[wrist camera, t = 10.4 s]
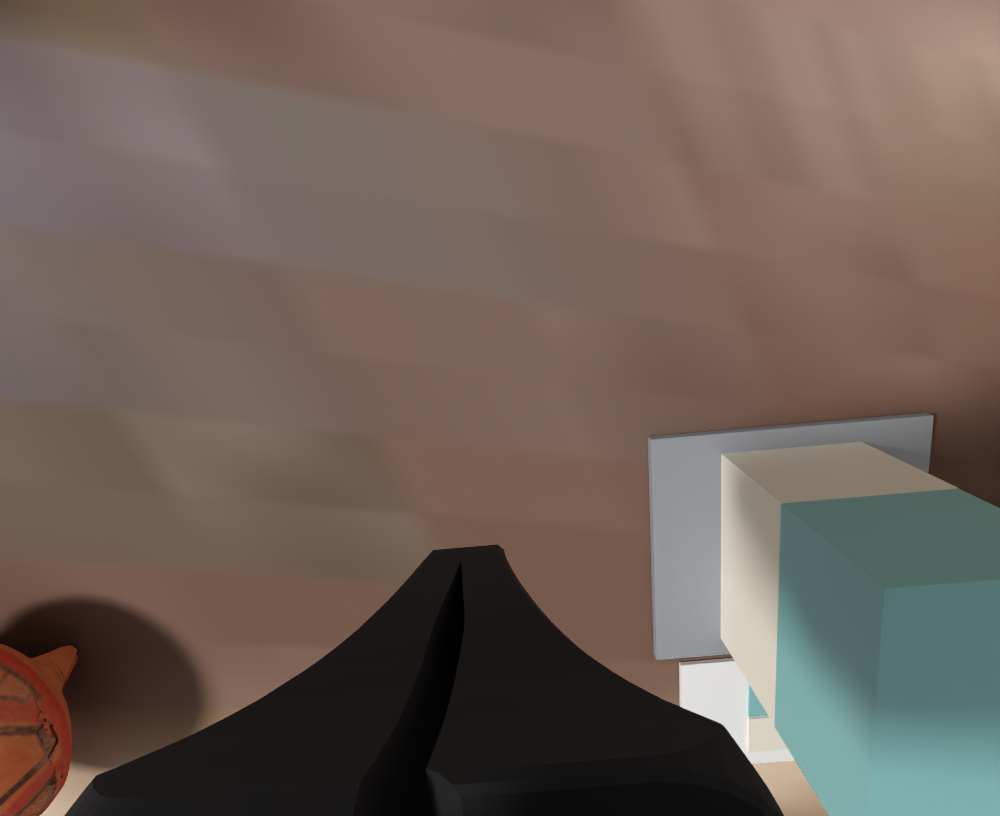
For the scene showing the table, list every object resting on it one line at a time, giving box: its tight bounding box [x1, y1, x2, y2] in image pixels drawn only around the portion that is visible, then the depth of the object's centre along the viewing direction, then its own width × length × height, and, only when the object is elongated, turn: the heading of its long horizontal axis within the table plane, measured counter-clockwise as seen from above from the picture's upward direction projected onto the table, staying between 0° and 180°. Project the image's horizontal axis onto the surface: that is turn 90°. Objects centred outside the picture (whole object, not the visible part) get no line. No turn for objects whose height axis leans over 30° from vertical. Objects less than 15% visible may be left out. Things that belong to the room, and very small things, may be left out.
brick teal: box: [774, 488, 1000, 816], centre depth 15 cm, size 8×5×4 cm, turn 5°
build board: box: [648, 413, 934, 660], centre depth 22 cm, size 9×10×1 cm
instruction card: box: [679, 658, 795, 764], centre depth 24 cm, size 5×8×1 cm, turn 95°
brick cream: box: [721, 442, 958, 724], centre depth 20 cm, size 8×5×4 cm, turn 5°
